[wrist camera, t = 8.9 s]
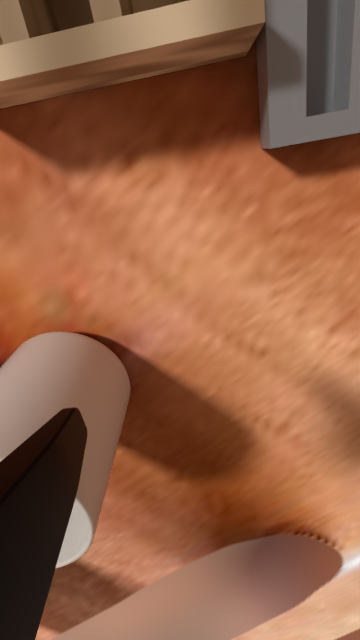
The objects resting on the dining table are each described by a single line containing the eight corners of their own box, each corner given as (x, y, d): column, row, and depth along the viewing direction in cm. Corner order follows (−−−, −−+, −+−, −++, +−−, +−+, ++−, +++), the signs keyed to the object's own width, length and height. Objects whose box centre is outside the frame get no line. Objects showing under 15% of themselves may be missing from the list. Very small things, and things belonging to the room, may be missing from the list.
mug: (140, 335, 23) (100, 475, 13) (127, 425, 27) (88, 583, 18) (-33, 304, 23) (-207, 426, 13) (-20, 401, 27) (-144, 550, 17)
